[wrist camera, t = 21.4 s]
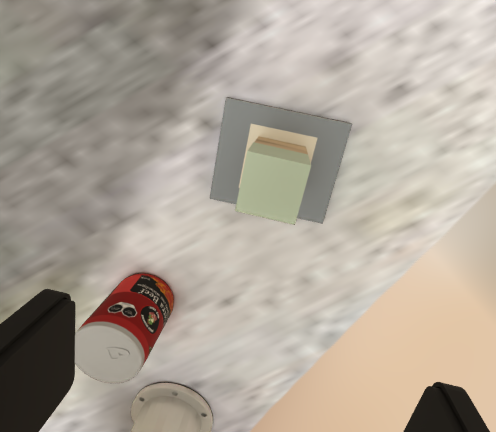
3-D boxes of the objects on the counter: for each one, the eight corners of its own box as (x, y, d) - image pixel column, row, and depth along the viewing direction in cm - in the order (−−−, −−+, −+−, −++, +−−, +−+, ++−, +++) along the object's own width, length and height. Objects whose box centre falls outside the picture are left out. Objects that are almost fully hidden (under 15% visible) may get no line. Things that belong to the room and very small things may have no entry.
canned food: (185, 309, 45) (155, 373, 35) (137, 327, 47) (95, 392, 37) (156, 262, 43) (115, 315, 33) (107, 283, 45) (54, 339, 35)
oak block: (294, 191, 37) (294, 206, 32) (249, 181, 37) (243, 194, 32) (305, 146, 35) (308, 154, 30) (258, 136, 35) (253, 142, 31)
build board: (321, 219, 39) (322, 223, 38) (211, 195, 39) (209, 198, 38) (350, 123, 35) (352, 124, 34) (228, 97, 35) (225, 97, 34)
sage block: (293, 205, 32) (294, 224, 27) (242, 193, 32) (235, 210, 28) (307, 154, 30) (311, 165, 26) (253, 142, 31) (247, 150, 26)
